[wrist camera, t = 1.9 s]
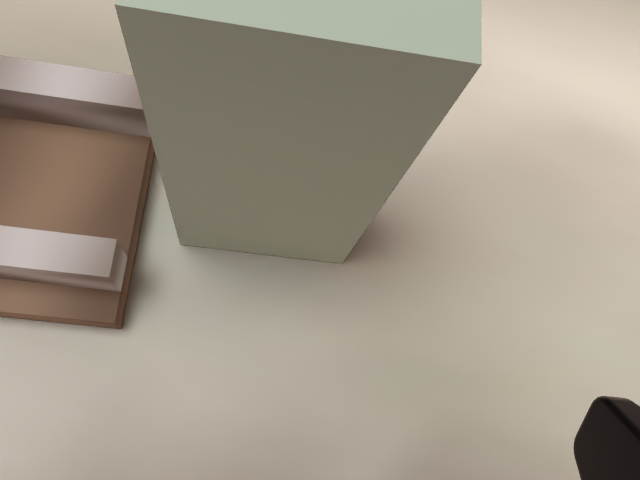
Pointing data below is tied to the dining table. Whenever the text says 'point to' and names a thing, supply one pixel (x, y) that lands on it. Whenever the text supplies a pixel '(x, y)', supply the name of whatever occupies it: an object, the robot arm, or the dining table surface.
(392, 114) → the pale green rectangular box
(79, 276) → the cabinet base
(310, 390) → the dining table surface
